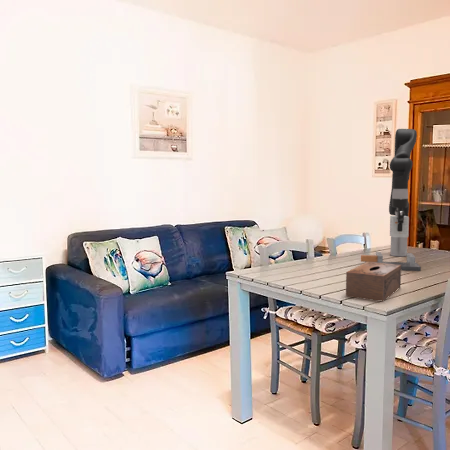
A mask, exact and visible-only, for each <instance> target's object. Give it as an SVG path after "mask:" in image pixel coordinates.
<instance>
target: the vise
mask: <svg viewBox="0 0 450 450" xmlns="http://www.w3.org/2000/svg"><path fill="white" fill-rule="evenodd" d="M364 263H366V262H364ZM374 263H376V262H374ZM383 263H384V264H395V265H401V271H405V272H406V271H408V272H409V271H411V272H412V271H413V272H421V270H422V269H421V268H422V267H421V266H420V264H419V263H418V262H416V256H415V255H414V253H412V252H407V256H406V261H402V262H399V261H383Z"/></svg>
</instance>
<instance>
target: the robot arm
mask: <svg viewBox="0 0 450 450" xmlns="http://www.w3.org/2000/svg"><path fill="white" fill-rule="evenodd" d="M417 133H418V132H417V130H416V129H413V128H398V129H396V131H395V134H394V156H393V157H392V159H391V160H390V162H389V168H390V171H391V172H392V176H391V177H392V179H391V190H390V191H391V193H390V198H389V204H388V205H389V206H388V212H389V214H390V216H396V217H397V220H398V222H397V223H398V231H402V224H403V222H404V216H408V217H409V212H410V201H409V180H410V174H411V170H412V167H413V161H412V159H411V154H412V151H413V149H414V148H415V145H416V143H417V139H418V138H417V137H418V135H417ZM399 220H402V221H399ZM389 251H390V256H393V257H407V253H408V237H391V236H390V250H389Z"/></svg>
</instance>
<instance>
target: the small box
mask: <svg viewBox="0 0 450 450" xmlns="http://www.w3.org/2000/svg"><path fill="white" fill-rule="evenodd" d="M399 221H402V220H399ZM397 222H398V220H397V217H396V216H395V215H390V217H389V236H390V238H391V237H407V238H409V234H410V233H409V227H410V226H409V225H410V217H409V215H408V216H404V222H403V224H402V231H398V223H397Z"/></svg>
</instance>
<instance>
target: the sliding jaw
mask: <svg viewBox="0 0 450 450" xmlns="http://www.w3.org/2000/svg"><path fill="white" fill-rule="evenodd" d="M360 262H364V263H365V262H376V263H383V262H384V255H383V254H382V252H381V251H376V252H375V255H374V254H373V255H372V254H371V255H370V254H360Z"/></svg>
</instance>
